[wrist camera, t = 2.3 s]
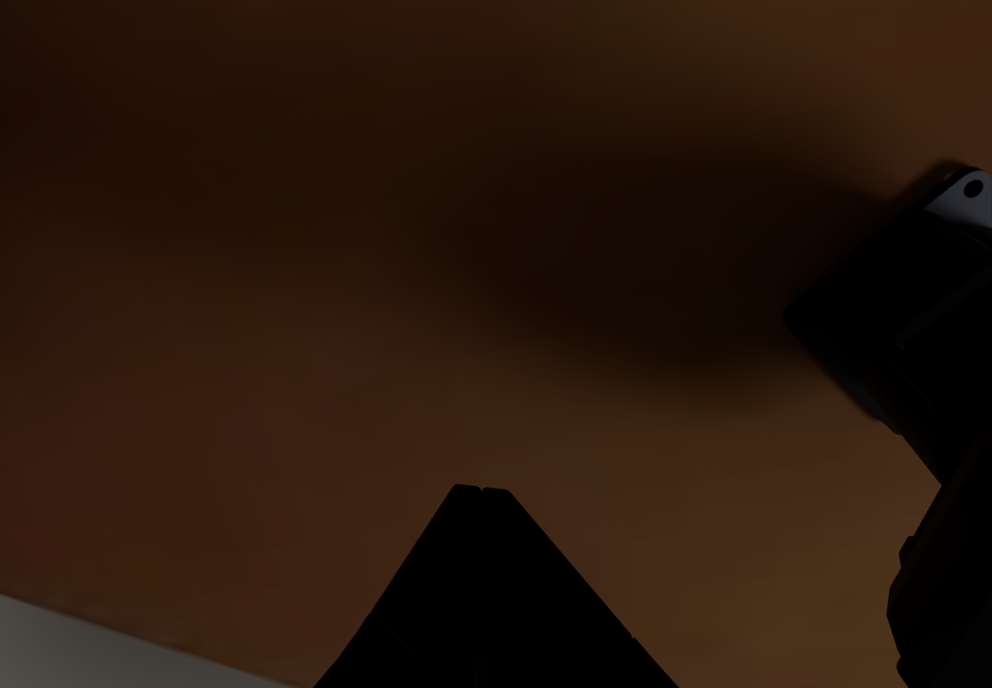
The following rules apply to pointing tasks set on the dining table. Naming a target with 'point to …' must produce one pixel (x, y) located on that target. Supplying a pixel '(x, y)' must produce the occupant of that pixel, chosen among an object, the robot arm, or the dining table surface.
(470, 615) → the robot arm
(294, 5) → the dining table surface
